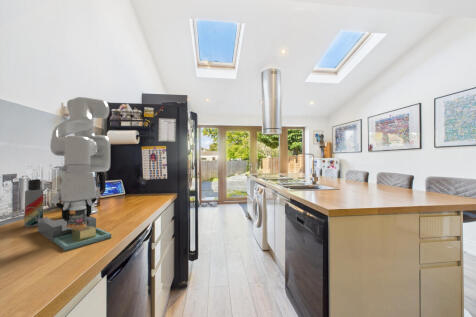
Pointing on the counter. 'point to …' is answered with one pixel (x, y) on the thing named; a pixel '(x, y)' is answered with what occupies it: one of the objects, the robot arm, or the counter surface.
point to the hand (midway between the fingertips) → (77, 217)
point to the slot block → (58, 227)
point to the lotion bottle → (33, 203)
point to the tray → (69, 243)
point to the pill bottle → (77, 214)
